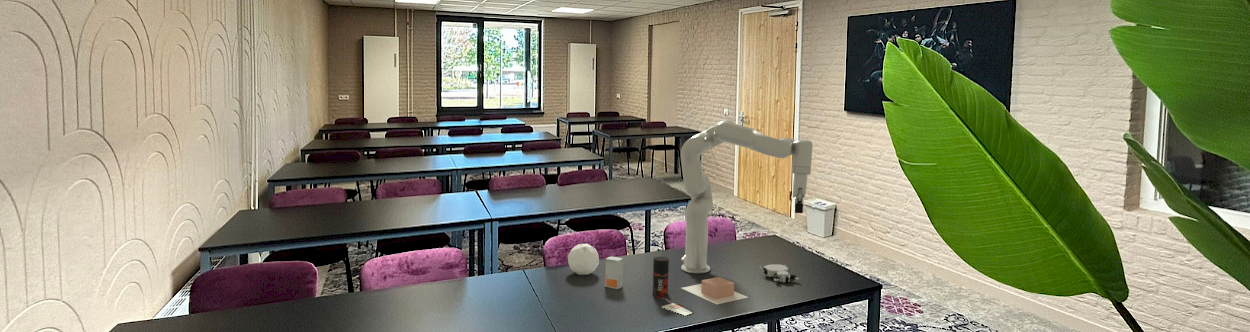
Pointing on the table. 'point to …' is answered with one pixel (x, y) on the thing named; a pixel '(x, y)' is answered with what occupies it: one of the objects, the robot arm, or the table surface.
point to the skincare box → (614, 272)
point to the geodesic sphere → (583, 259)
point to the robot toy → (778, 273)
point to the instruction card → (678, 309)
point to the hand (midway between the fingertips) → (798, 210)
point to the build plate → (697, 291)
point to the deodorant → (660, 277)
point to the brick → (717, 288)
